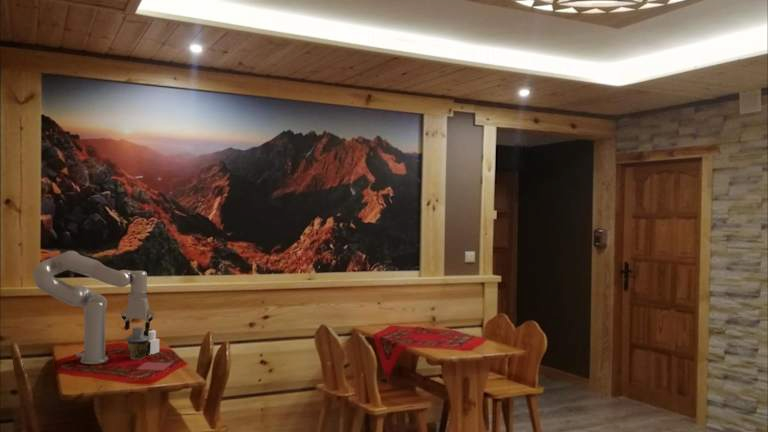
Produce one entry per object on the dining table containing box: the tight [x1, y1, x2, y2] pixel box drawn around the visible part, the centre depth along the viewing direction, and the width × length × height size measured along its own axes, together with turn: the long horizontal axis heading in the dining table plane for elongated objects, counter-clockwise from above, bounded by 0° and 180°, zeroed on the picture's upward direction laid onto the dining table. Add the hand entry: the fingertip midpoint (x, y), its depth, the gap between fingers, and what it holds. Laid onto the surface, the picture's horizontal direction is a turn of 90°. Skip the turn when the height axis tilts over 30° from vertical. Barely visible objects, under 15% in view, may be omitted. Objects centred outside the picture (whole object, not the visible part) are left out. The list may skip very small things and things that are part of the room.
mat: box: [136, 361, 173, 371], centre depth 326 cm, size 13×13×1 cm
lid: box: [125, 326, 149, 343], centre depth 339 cm, size 11×11×6 cm
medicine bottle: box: [143, 329, 160, 356], centre depth 353 cm, size 7×7×12 cm
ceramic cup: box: [127, 340, 149, 361], centre depth 339 cm, size 13×10×10 cm
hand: (137, 329), depth 338 cm, fingers open, 9 cm apart
